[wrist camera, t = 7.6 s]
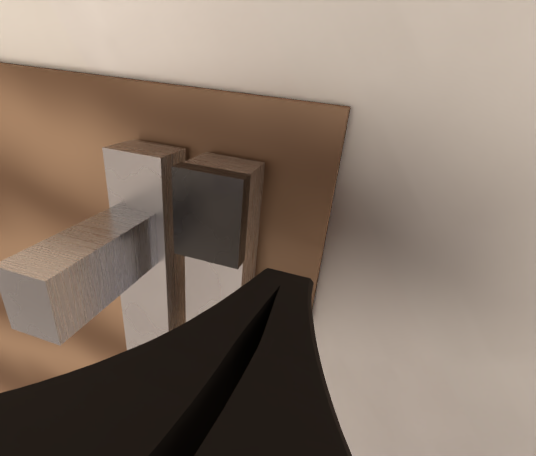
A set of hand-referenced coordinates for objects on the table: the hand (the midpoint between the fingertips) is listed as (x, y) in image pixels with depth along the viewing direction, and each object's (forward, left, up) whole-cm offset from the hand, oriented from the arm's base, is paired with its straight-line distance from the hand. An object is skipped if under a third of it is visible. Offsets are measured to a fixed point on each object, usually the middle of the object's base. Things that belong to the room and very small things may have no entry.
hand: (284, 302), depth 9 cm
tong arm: (+6, +6, -3) cm, 9 cm away
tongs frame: (+4, +9, -3) cm, 11 cm away
